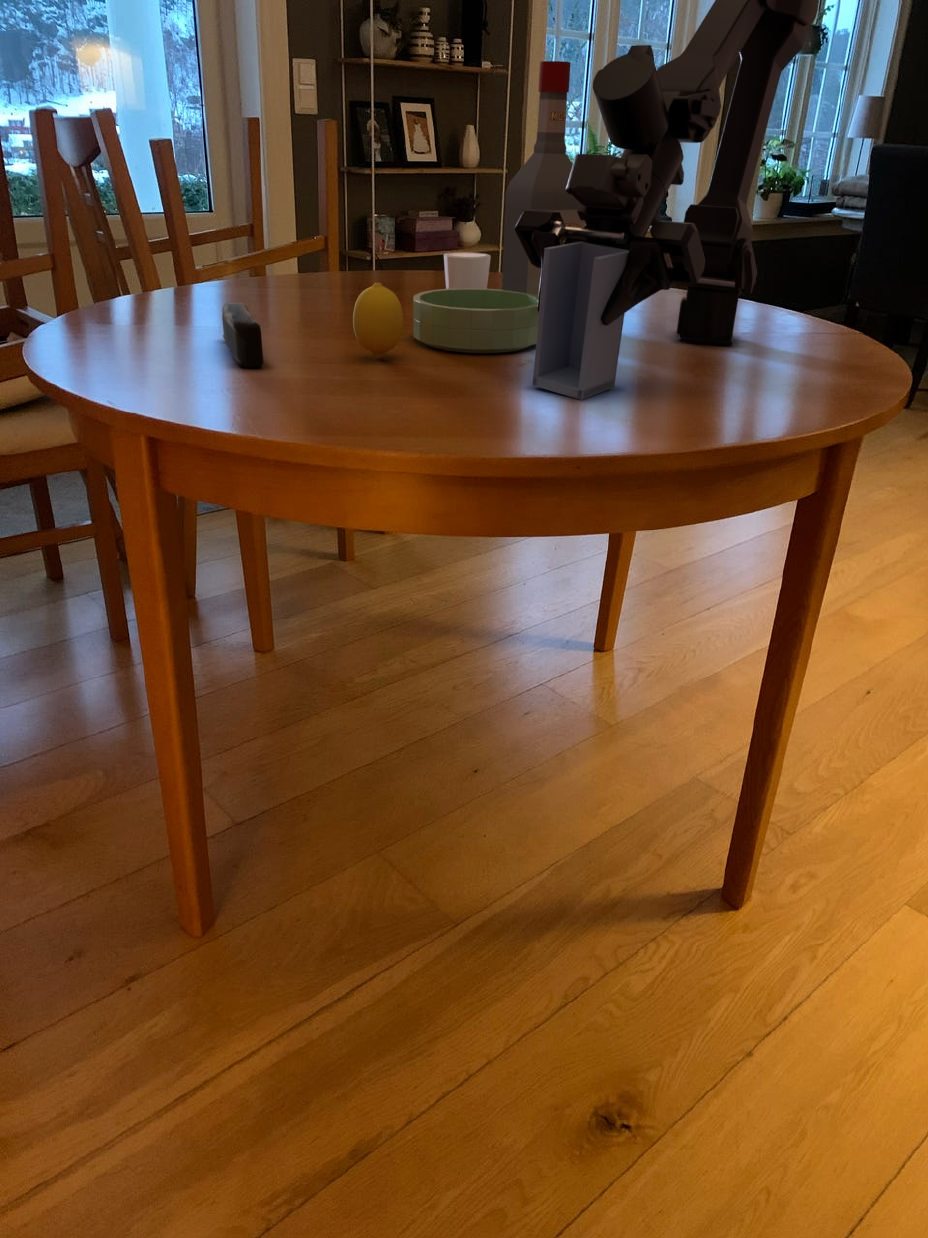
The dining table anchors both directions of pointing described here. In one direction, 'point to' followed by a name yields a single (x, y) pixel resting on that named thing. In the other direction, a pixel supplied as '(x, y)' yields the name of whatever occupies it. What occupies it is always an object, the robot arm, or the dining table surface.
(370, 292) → the lemon
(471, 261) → the white cup
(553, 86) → the liquor
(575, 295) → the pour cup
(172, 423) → the dining table surface
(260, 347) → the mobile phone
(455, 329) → the bowl
